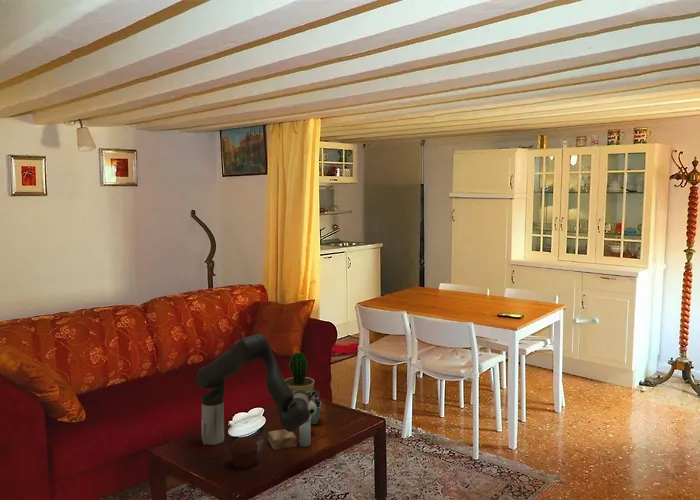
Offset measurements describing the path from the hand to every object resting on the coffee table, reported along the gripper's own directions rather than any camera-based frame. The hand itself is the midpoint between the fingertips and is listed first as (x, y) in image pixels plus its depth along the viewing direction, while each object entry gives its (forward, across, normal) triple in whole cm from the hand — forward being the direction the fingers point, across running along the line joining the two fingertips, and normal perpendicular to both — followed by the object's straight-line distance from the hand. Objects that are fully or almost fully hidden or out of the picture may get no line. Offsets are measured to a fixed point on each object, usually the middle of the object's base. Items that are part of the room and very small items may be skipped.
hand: (302, 391), depth 239 cm
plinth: (+10, +10, +26) cm, 30 cm away
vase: (+10, 0, +26) cm, 28 cm away
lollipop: (+21, 0, +26) cm, 33 cm away
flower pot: (+34, -1, +25) cm, 42 cm away
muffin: (-8, +24, +27) cm, 36 cm away
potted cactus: (+50, +6, +24) cm, 56 cm away
